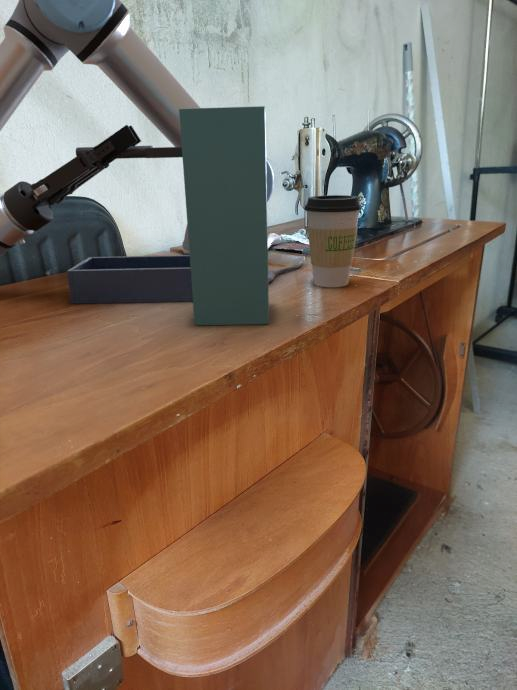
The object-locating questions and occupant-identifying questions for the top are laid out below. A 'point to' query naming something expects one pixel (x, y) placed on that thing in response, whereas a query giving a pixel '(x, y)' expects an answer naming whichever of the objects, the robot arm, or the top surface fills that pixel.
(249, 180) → the teal stand
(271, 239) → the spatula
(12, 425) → the top surface
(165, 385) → the top surface
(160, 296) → the tray
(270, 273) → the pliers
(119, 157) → the black spatula
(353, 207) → the coffee cup
